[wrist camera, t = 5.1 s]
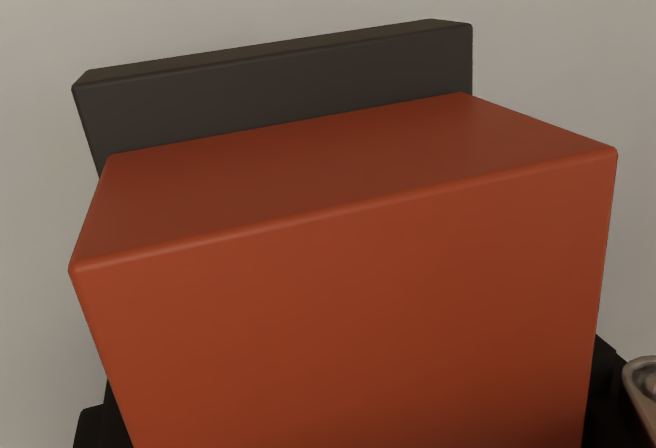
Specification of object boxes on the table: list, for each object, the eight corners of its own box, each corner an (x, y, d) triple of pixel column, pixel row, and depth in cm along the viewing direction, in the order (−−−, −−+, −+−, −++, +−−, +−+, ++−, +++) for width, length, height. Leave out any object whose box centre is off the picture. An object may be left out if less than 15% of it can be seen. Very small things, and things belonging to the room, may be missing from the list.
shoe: (84, 69, 9) (-8, 161, 4) (432, 17, 10) (653, 44, 5) (228, 550, 14) (256, 817, 9) (444, 478, 15) (561, 688, 10)
